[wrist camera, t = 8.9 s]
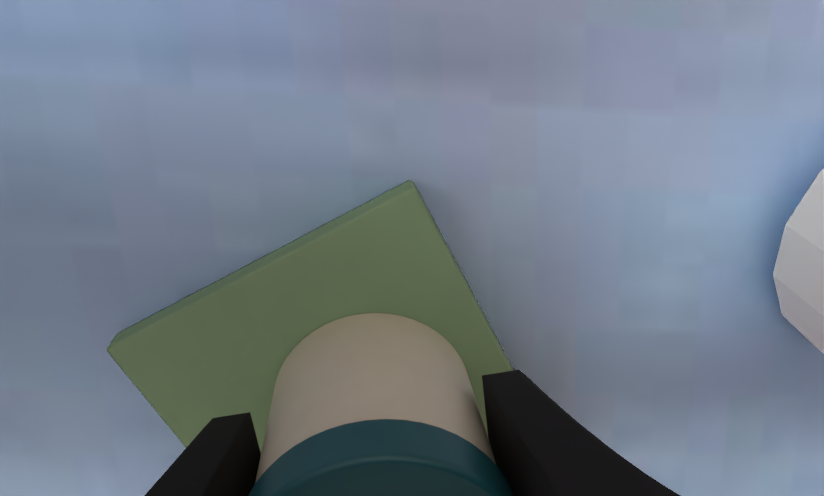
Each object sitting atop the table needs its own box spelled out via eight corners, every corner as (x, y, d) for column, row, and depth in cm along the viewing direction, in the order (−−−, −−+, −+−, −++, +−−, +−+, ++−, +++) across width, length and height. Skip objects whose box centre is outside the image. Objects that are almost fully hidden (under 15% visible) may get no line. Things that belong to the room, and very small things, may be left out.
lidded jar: (334, 512, 13) (326, 725, 9) (226, 367, 11) (164, 545, 8) (508, 429, 12) (576, 613, 9) (417, 269, 11) (452, 405, 7)
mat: (290, 551, 14) (287, 574, 13) (116, 333, 12) (103, 349, 11) (545, 429, 13) (554, 448, 13) (410, 177, 11) (414, 186, 10)
